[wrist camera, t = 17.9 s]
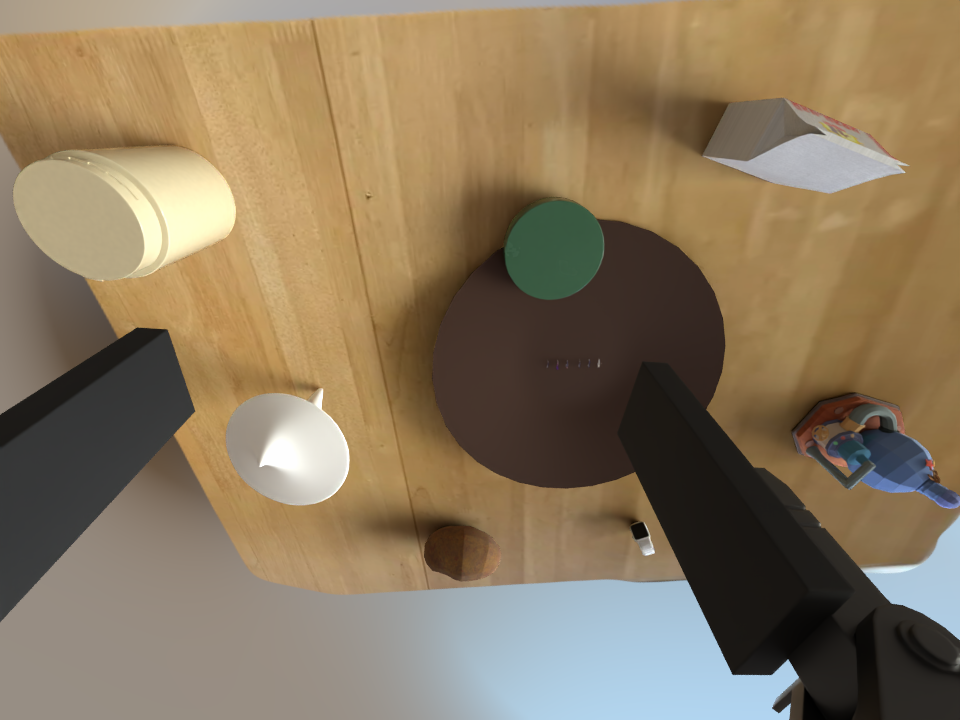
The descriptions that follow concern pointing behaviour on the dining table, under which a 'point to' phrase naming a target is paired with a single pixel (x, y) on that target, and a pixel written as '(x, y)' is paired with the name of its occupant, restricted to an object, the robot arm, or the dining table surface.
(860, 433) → the model
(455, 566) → the potato
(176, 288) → the dining table surface
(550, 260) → the jar lid
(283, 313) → the dining table surface
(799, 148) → the tea bag
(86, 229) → the jam jar
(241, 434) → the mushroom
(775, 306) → the dining table surface
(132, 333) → the robot arm
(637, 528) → the smartwatch
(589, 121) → the dining table surface
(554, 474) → the plate
